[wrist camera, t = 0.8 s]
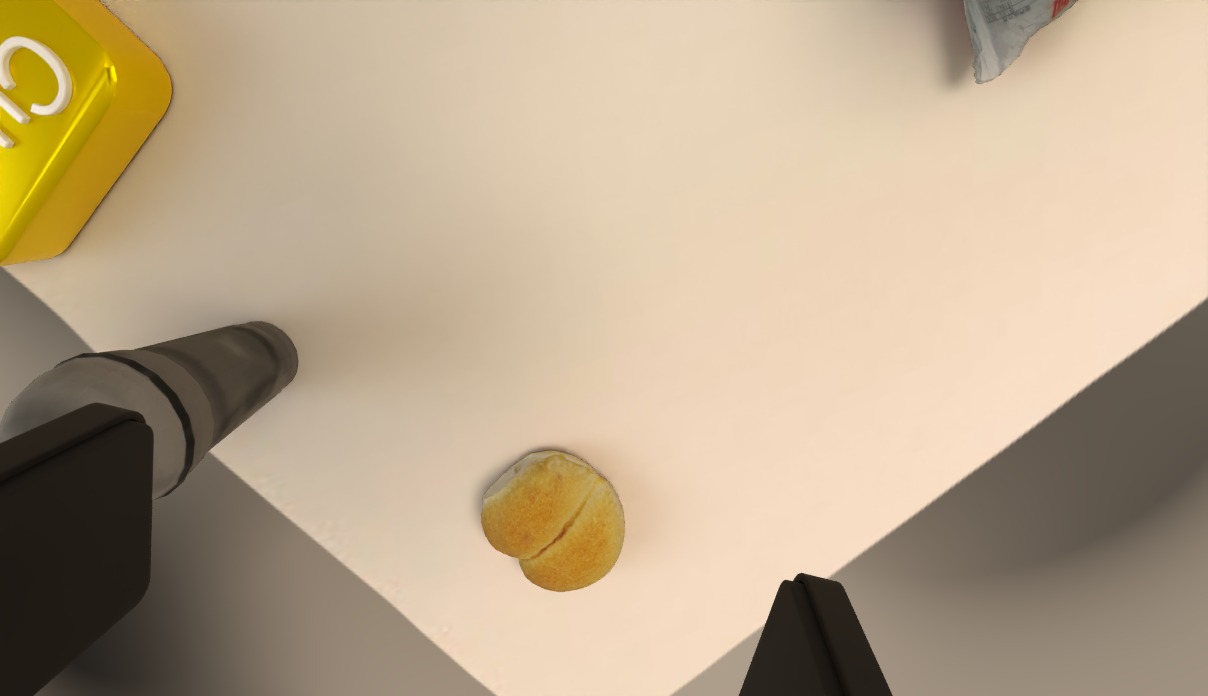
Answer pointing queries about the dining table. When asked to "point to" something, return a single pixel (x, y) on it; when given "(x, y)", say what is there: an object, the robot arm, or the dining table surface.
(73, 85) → the element tile
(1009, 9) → the packaged food
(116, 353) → the beverage cup
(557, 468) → the bread roll
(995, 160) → the dining table surface
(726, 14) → the dining table surface
